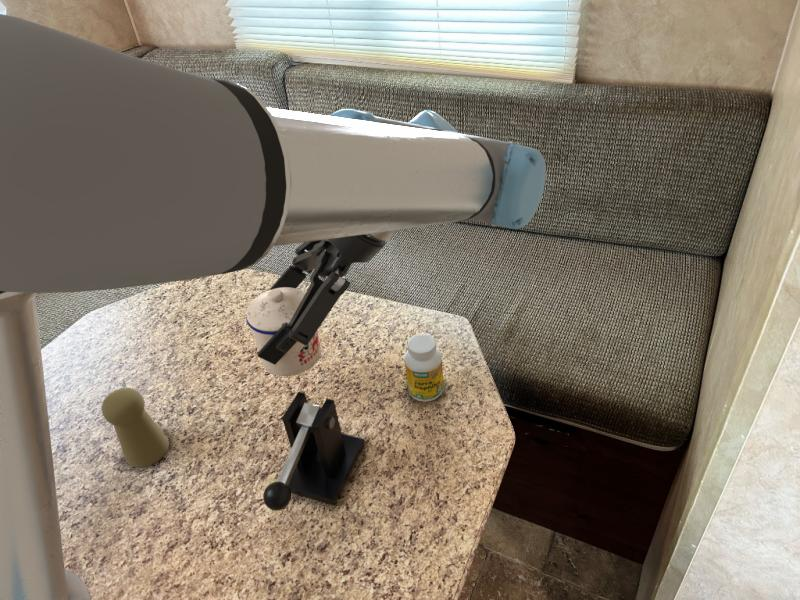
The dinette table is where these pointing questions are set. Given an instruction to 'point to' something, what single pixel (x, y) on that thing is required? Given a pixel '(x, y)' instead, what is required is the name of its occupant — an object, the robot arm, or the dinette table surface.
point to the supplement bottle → (424, 368)
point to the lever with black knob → (291, 461)
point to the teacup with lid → (268, 319)
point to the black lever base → (321, 453)
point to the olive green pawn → (134, 427)
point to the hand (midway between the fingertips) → (270, 327)
